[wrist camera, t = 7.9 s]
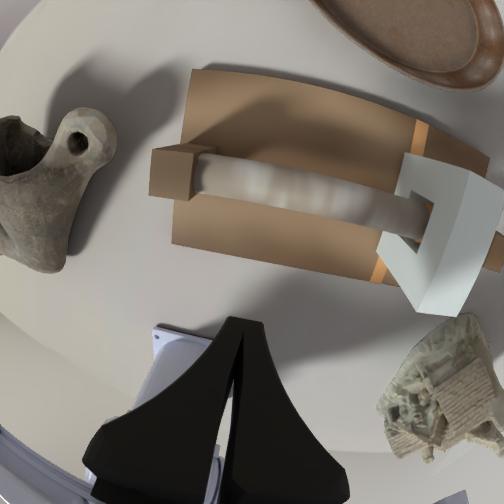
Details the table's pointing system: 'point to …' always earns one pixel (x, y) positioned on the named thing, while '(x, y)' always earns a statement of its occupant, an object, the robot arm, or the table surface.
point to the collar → (442, 234)
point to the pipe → (48, 183)
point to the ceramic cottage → (445, 393)
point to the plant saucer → (426, 37)
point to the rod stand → (298, 175)
